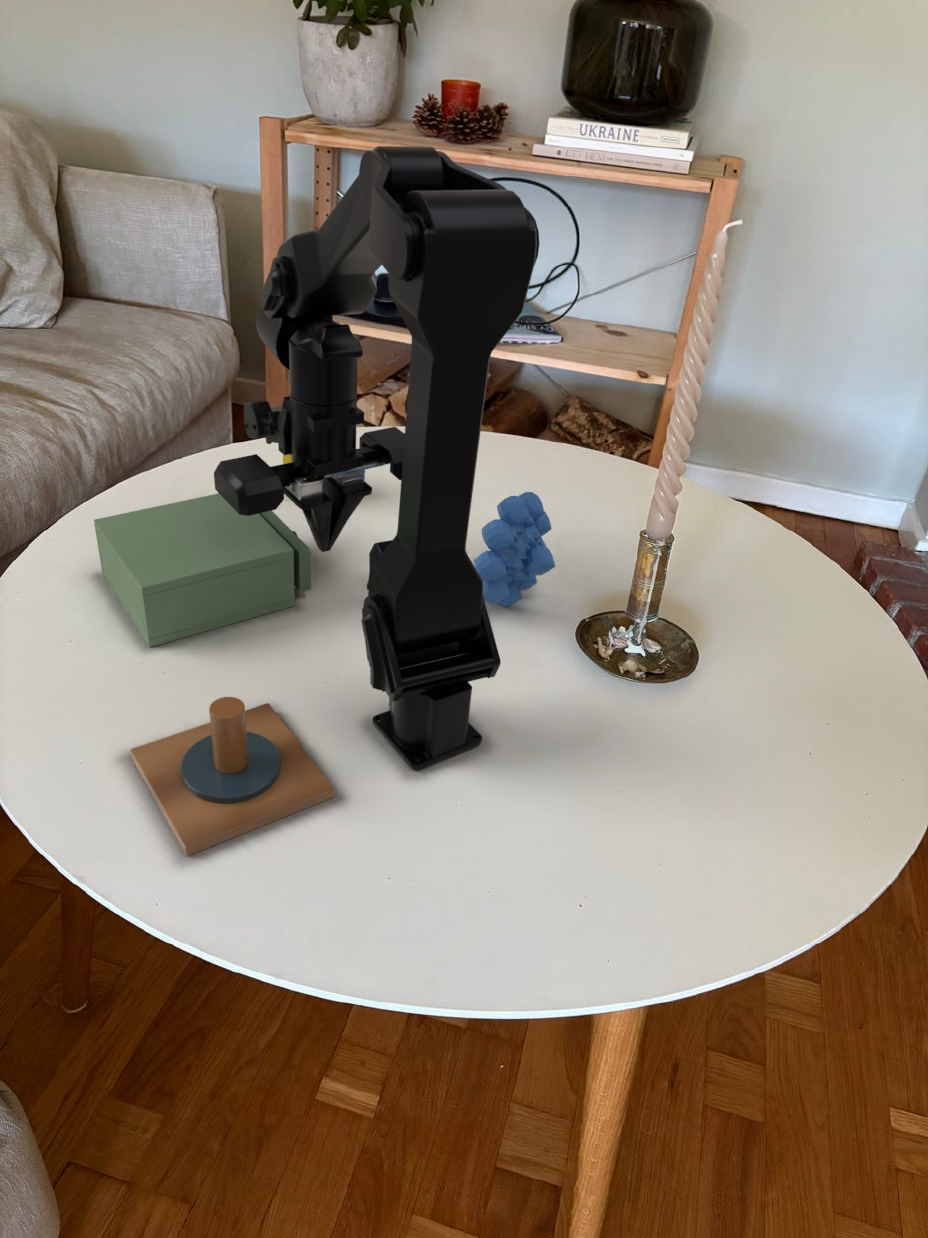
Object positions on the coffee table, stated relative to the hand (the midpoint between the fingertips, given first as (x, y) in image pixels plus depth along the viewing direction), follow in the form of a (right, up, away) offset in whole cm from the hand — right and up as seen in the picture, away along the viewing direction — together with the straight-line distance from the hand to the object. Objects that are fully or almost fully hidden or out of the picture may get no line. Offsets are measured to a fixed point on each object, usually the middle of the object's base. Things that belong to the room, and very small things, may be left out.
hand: (323, 549), depth 91 cm
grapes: (+18, -6, 0) cm, 19 cm away
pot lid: (-4, -17, -22) cm, 28 cm away
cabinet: (-11, -4, -2) cm, 12 cm away
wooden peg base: (-4, -18, -21) cm, 28 cm away
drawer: (-9, -2, -1) cm, 9 cm away
